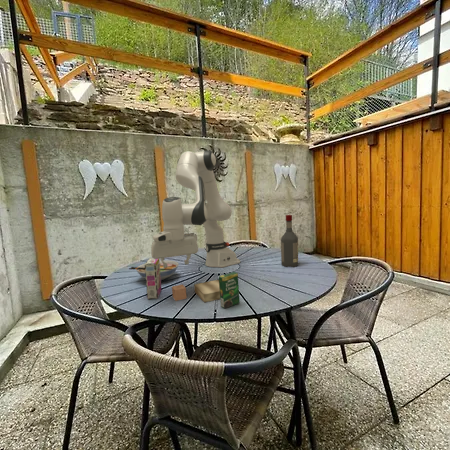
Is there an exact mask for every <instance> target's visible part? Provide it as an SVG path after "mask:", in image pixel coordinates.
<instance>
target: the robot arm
mask: <svg viewBox="0 0 450 450" xmlns="http://www.w3.org/2000/svg"><path fill="white" fill-rule="evenodd" d="M214 153H215V152H213V151H212V150H203V151H195V152H194V151H190V150H187V151H183V152H182V153H181V155H180V156H179V157H178V158H177V162H176V163H177V164H176V168H175V169H176V170H175V179H176V182H177V183H178V184H180V186H182V187H183V188H186V189H190V190H192V191H195V202H193V203H182V200H181V198H180V197H178V196H170V197H166V198H164V199H163V200H162V205H161V213H162V215H161V217H162V221H163V222H162V223H163V227H162V229H163V231H160V232H158V233H156V234H153V236H152V239H153V241H152V244H151V247H150V250H151V252H150V254H151V258H154V259H159V261H162V263H163V267H164V268H167V267H168V266H167V263H165V262H164V261H165V258H172V257H180V256H186V259H184V260H183V261H184V262H183V263H184V265H189V264H190V262H189V261H190V259H191V256H192V255H194V254H198V252H199V246H198V235H197V233H195V232H190V233H189V232H187V233H185V225H186V226H191V225H192V226H202V225H203V229H204V231H205V241H206V242H205V250H206V256H205V258H206V260H205V264H204V265H205V266H206V267H210V268H226V267H230V266H233V265H237V264H240V263H241V259H239V258H238V257H237V255H236V253H235V251H233V250H232V249H230V248H229V246H230V243H229V242H227V241H225V239H224V230H223V228H222V227H221V226H220V225H219V223H218V221H219V222H222V221H226V220H227V221H228V220H230V218H231V216H232V214H233V213H232V212H233V211H232V208H231V207H232V206H230V205H229V204H228V203H227V202H226V201H225V200H224V199H223V198H222V196H221V194H220V192H219V188H218V185H217V181H216V177H215V173H214V171H213V170H214V168H215V167H216V164H217V160H216V155H215V154H214ZM227 246H228V247H227Z"/></svg>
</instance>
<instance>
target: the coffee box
mask: <svg viewBox="0 0 450 450" xmlns="http://www.w3.org/2000/svg"><path fill="white" fill-rule="evenodd" d="M218 280H219V289H220V299H219V300H220V307H221V308H222V309H224V310H225V309H228V308H231V307H234V306H237V305H239V304H240V302H241V301H240V300H241V299H240V287H239V286H240V285H239V274H238V272H236V271H231V272H229V273H225V274H221V275H219V276H218Z"/></svg>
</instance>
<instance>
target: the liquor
mask: <svg viewBox="0 0 450 450" xmlns="http://www.w3.org/2000/svg"><path fill="white" fill-rule="evenodd" d="M292 221H293V215H292V214H286V215H285V226H286V228H285V232H284V233H283V235H282V236H281V238H280V256H281V257H280V261H281V262H280V263H281V266H282V267H285V268H296V267H297V266H298V264H299V237H298V236H297V234H296V233H295V232H294V230H293V223H292Z"/></svg>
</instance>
